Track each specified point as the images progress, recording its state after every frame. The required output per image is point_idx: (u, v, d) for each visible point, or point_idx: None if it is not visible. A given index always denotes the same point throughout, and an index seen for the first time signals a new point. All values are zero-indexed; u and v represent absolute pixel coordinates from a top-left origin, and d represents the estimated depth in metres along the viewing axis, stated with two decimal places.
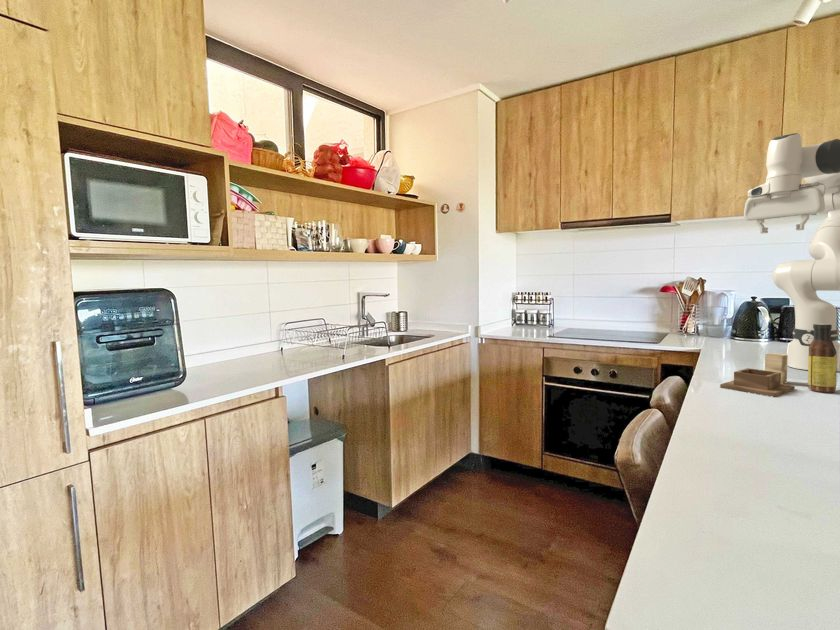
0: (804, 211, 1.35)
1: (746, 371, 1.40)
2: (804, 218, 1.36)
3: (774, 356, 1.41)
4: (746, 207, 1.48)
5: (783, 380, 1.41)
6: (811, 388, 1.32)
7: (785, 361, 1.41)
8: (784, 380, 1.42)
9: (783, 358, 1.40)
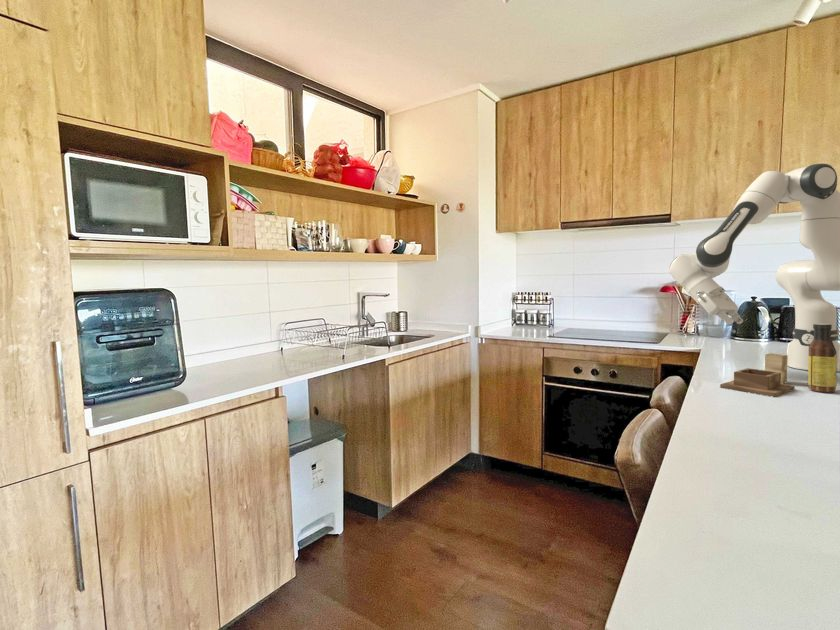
0: None
1: (746, 371, 1.40)
2: None
3: (774, 356, 1.41)
4: None
5: (783, 380, 1.41)
6: (811, 388, 1.32)
7: (785, 361, 1.41)
8: (784, 380, 1.42)
9: (783, 358, 1.40)
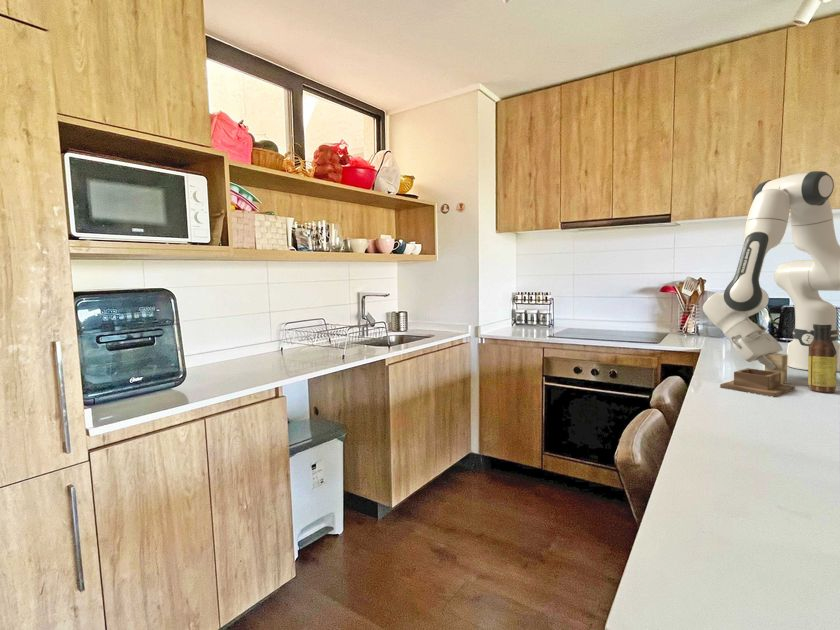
0: None
1: (746, 371, 1.40)
2: None
3: (774, 356, 1.41)
4: None
5: (783, 380, 1.41)
6: (811, 388, 1.32)
7: (785, 361, 1.41)
8: (784, 380, 1.42)
9: (783, 358, 1.40)
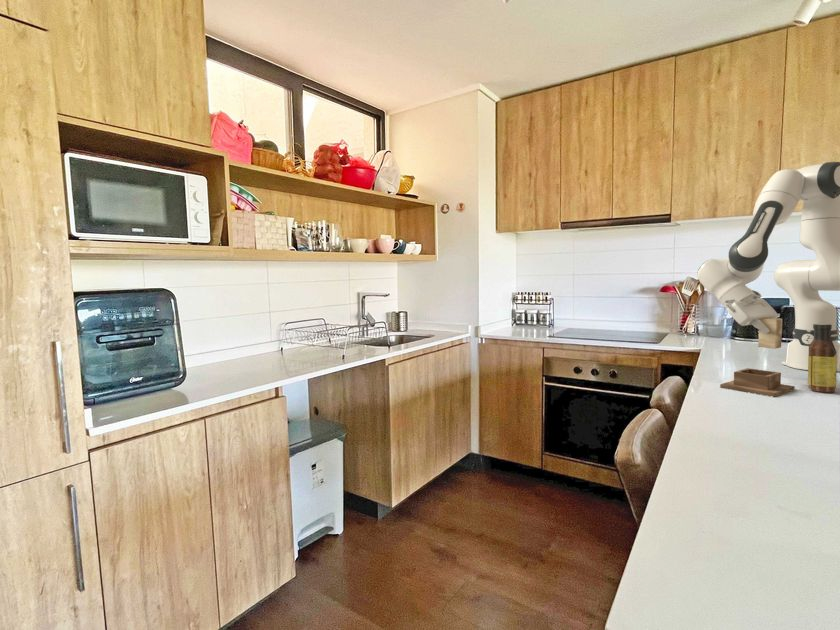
0: None
1: (746, 371, 1.40)
2: None
3: (768, 320, 1.38)
4: None
5: (777, 344, 1.38)
6: (811, 388, 1.32)
7: (780, 325, 1.38)
8: (779, 344, 1.38)
9: (777, 321, 1.37)
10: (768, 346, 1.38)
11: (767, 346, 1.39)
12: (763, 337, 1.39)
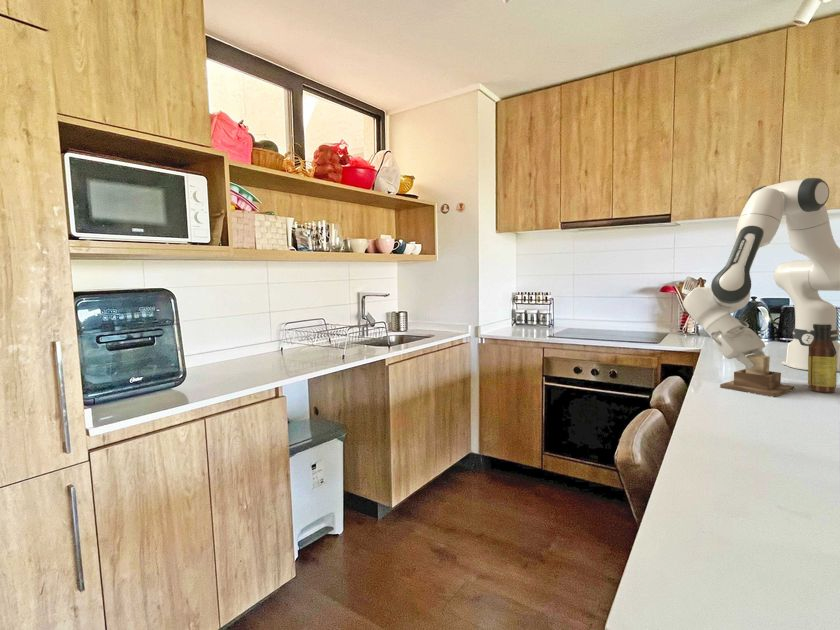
0: None
1: None
2: None
3: (755, 358, 1.34)
4: None
5: None
6: (811, 388, 1.32)
7: (767, 363, 1.34)
8: None
9: (764, 359, 1.33)
10: None
11: None
12: None
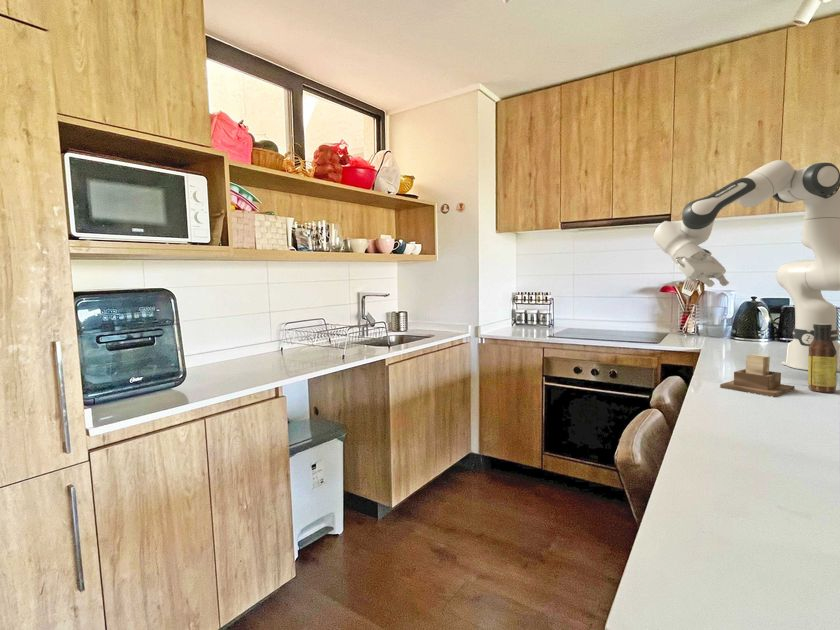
0: None
1: None
2: None
3: (755, 358, 1.34)
4: None
5: None
6: (811, 388, 1.32)
7: (767, 363, 1.34)
8: None
9: (764, 359, 1.33)
10: None
11: None
12: None
